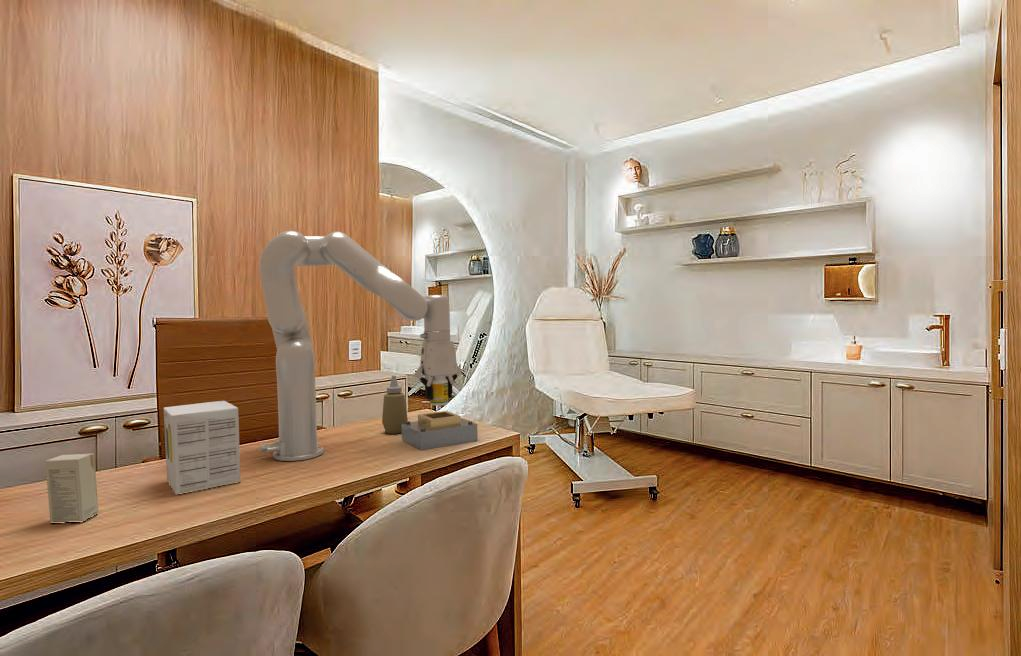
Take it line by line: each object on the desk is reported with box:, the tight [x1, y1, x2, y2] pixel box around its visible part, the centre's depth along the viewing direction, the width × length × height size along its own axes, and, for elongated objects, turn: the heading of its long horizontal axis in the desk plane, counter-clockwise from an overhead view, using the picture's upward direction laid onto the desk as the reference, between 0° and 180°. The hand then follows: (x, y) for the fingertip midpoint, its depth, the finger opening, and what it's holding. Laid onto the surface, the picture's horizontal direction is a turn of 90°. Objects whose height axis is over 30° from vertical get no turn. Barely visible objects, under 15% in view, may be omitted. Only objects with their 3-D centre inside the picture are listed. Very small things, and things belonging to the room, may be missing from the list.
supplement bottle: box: [429, 376, 449, 407], centre depth 158 cm, size 5×5×10 cm
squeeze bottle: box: [381, 375, 409, 435], centre depth 170 cm, size 8×8×18 cm
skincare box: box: [44, 452, 100, 522], centre depth 102 cm, size 6×4×12 cm
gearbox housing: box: [401, 410, 479, 451], centre depth 159 cm, size 18×14×8 cm
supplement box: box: [163, 400, 241, 495], centre depth 123 cm, size 13×13×18 cm
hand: (439, 397), depth 158 cm, fingers closed on supplement bottle, 5 cm apart
